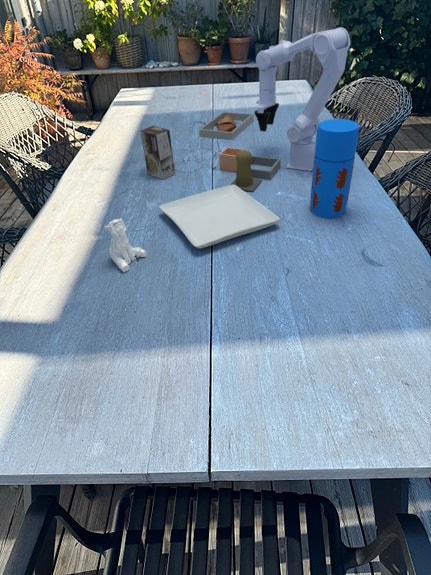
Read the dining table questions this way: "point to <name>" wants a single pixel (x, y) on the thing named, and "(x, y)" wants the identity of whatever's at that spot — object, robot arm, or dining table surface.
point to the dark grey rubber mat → (249, 188)
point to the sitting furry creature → (122, 245)
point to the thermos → (333, 167)
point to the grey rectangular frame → (265, 161)
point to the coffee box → (158, 151)
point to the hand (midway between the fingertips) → (266, 127)
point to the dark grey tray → (209, 133)
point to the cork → (243, 169)
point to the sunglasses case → (226, 124)
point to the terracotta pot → (228, 159)
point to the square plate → (218, 215)
